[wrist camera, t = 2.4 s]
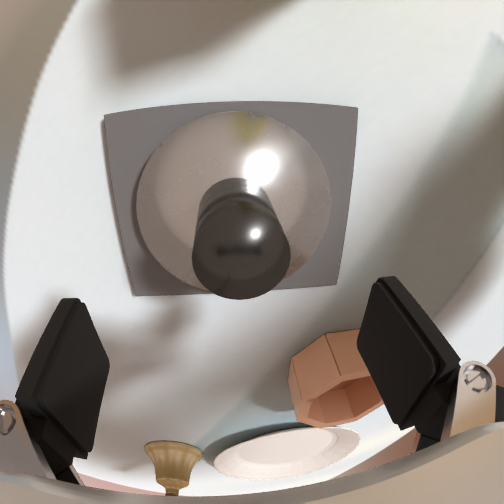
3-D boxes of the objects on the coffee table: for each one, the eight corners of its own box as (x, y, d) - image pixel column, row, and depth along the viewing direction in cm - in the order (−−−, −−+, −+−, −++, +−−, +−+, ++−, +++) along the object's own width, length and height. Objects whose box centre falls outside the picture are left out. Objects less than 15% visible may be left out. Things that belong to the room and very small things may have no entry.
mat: (353, 107, 15) (358, 107, 15) (333, 280, 21) (336, 284, 21) (107, 114, 14) (104, 114, 14) (137, 290, 20) (135, 296, 19)
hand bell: (145, 456, 35) (141, 547, 21) (143, 436, 31) (137, 545, 18) (199, 462, 37) (203, 553, 23) (206, 444, 33) (212, 552, 19)
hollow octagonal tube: (389, 324, 25) (410, 359, 21) (365, 382, 29) (378, 415, 25) (294, 337, 24) (306, 380, 20) (285, 396, 28) (293, 432, 24)
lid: (333, 113, 15) (385, 127, 10) (317, 280, 20) (345, 340, 15) (129, 119, 14) (86, 135, 9) (154, 289, 19) (139, 354, 14)
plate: (220, 414, 30) (221, 431, 28) (381, 404, 33) (386, 417, 31) (207, 469, 39) (208, 480, 37) (325, 462, 43) (327, 472, 41)
